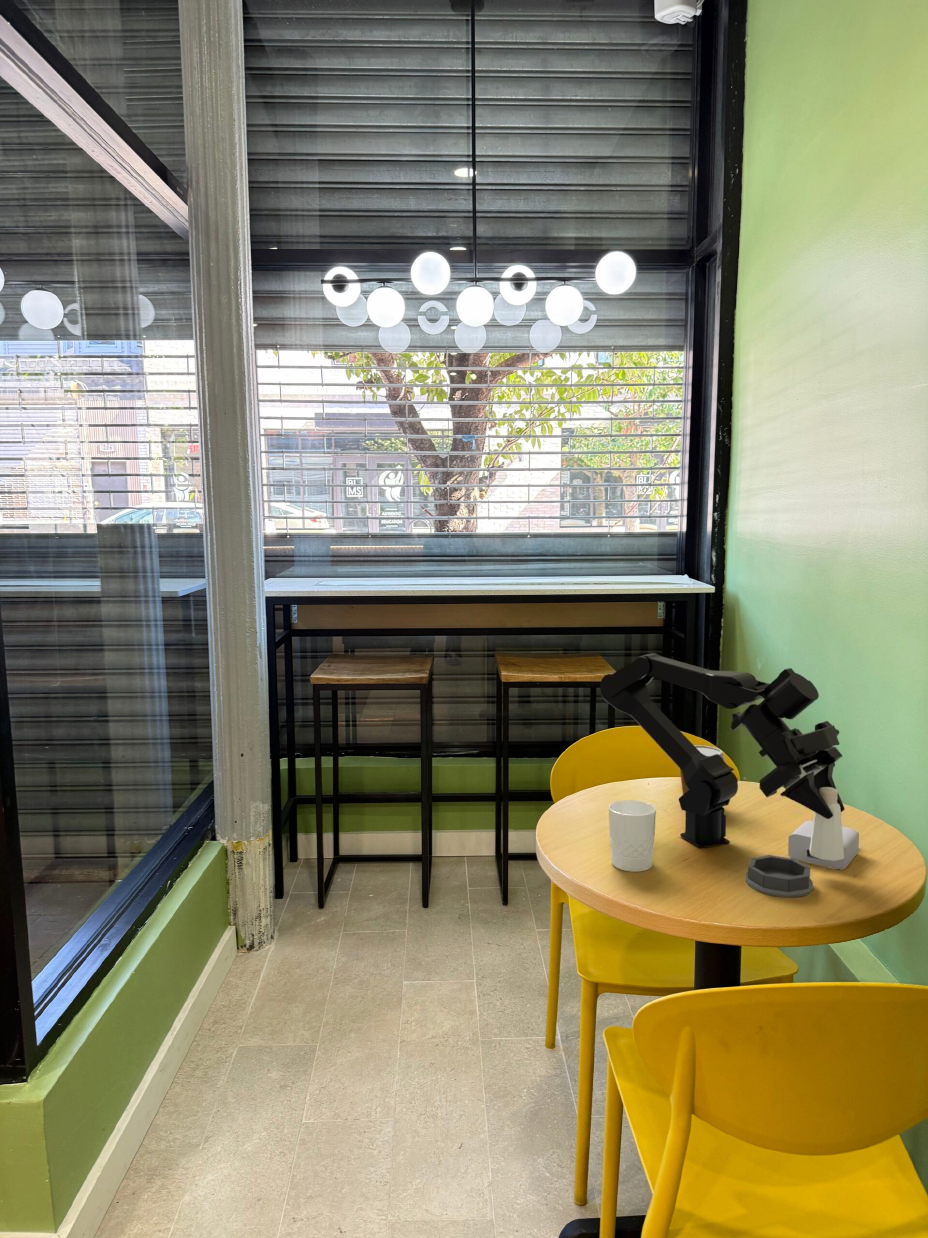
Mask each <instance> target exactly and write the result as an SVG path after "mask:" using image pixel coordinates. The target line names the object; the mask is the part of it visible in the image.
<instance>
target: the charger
mask: <svg viewBox="0 0 928 1238" xmlns="http://www.w3.org/2000/svg"><path fill="white" fill-rule="evenodd" d="M813 821H814V820H805V821H804V822H803V823H802V824H801V825H800V826H799V827H797V828H796V829H795V830H794V831H793V832H792V833H791V834H790V835H789V836H788V839H787V840H788V842H787V843H788V844H787V847H788V848H787V850H788V853H787V854H788V855H787V856H788V858H792V859H795V860H797V861H799V862H802V863H803V862H804V863H809V864H811V865H816V866H817V865H818V866H822V867H825V868H829V867H830V868H829V869H834V870H838V869H840V870H839V871H843V870H845V869H846V868H847V867H848V866H849V864H850V863H851V862H852V861H853V859H854V858H855V857H856V855H858V853H859V848H860V846H859V845H860V834H859V832H858V830H856V829H854V828H850V827H847V826H845V825H842V835H843V848H844V859H841V860H837V861H829V860H821V859H819V858H816V857H814V856H812V855H811V854H810V850H809V849H810V842H811V835H812V828H813Z"/></svg>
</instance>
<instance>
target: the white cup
mask: <svg viewBox="0 0 928 1238" xmlns="http://www.w3.org/2000/svg"><path fill="white" fill-rule="evenodd" d="M656 815H657V808H656V806H654V805H653V804H652V803H648V802H645V801H640V800H630V799H629V800H628V799H627V800H618V801H614V802H612V803H609V805H608V820H609V821H608V823H609V839H610V841H609V842H610V849H611V864H612V866H614V867H615V868H616V869H619V870H621V871H625V872H634V873H636V872H644V871H648V870H649V869H651V868H652V866H653V865H652V864H653V852H654V850H655V849H654V845H655V835H656V817H657V816H656Z"/></svg>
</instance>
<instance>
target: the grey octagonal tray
mask: <svg viewBox="0 0 928 1238" xmlns="http://www.w3.org/2000/svg"><path fill="white" fill-rule="evenodd" d="M745 882H746V884H747V885H748V886H749V887H750V888H751V889H753V890H755V891H756V892H759V893H762V894H764V895H769V896H771V897H772V896H773V897H777V898H791V899H792V898H801V897H805V896H807V895H809V894H811V893H812V892H813V891H814V889H813V888H814V886H813V885H814V883H813V880H812V879H811V867H810V866H809V865H807V864H805V863H803V862H802V861H799V860H795V859H792V858H790V857H784V856H778V855H772V854H771V855H770V854H769V855H763V856H762V855H761V856H755V857H751V858H750V860H749V862H748V865H747V871H746V873H745Z"/></svg>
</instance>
